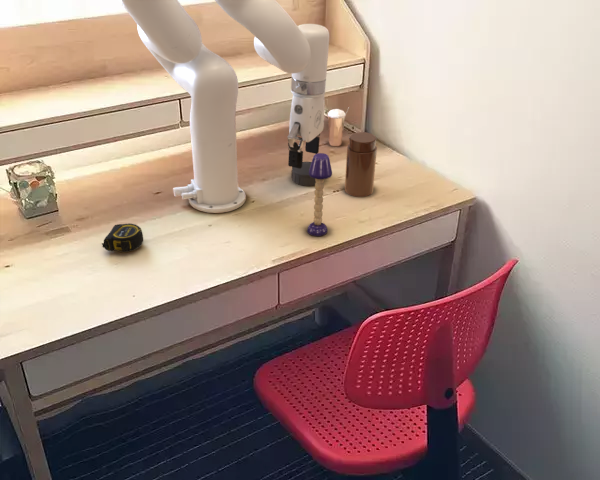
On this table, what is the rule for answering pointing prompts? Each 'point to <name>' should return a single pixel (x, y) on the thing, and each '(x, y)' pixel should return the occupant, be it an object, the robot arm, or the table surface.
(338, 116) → the milkshake
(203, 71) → the robot arm
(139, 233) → the tape measure
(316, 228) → the toy lamp
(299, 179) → the cap
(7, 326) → the table surface
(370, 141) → the jar
